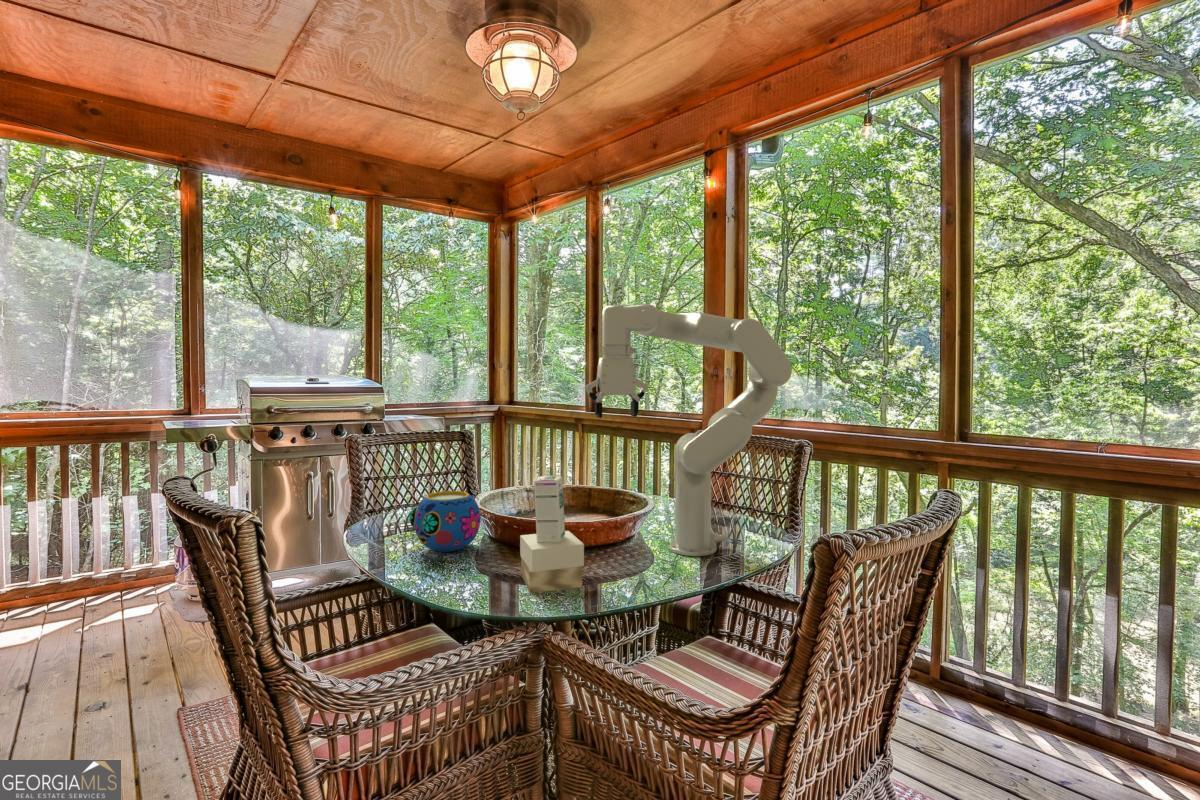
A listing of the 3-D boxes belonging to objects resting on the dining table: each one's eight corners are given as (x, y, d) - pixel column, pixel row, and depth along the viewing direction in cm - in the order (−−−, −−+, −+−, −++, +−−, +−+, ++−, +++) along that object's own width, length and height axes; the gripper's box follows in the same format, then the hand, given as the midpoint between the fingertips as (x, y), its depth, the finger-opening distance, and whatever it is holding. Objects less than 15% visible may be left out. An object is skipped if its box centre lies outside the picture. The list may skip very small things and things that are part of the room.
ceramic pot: (403, 548, 163) (402, 494, 162) (461, 536, 174) (461, 485, 174) (432, 564, 150) (431, 505, 149) (493, 549, 161) (492, 495, 160)
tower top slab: (568, 550, 145) (568, 530, 145) (583, 565, 134) (583, 544, 134) (520, 556, 141) (520, 535, 141) (532, 572, 130) (531, 549, 130)
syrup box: (561, 543, 134) (559, 479, 134) (535, 542, 135) (533, 479, 134) (565, 536, 140) (563, 475, 139) (540, 535, 141) (539, 475, 140)
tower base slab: (569, 570, 146) (569, 550, 145) (582, 588, 134) (582, 566, 134) (521, 575, 142) (521, 555, 142) (529, 594, 131) (529, 572, 130)
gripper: (642, 352, 163) (642, 414, 164) (581, 352, 158) (581, 416, 159) (652, 352, 156) (652, 417, 157) (588, 352, 151) (588, 419, 152)
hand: (616, 416), depth 158 cm, fingers open, 9 cm apart
